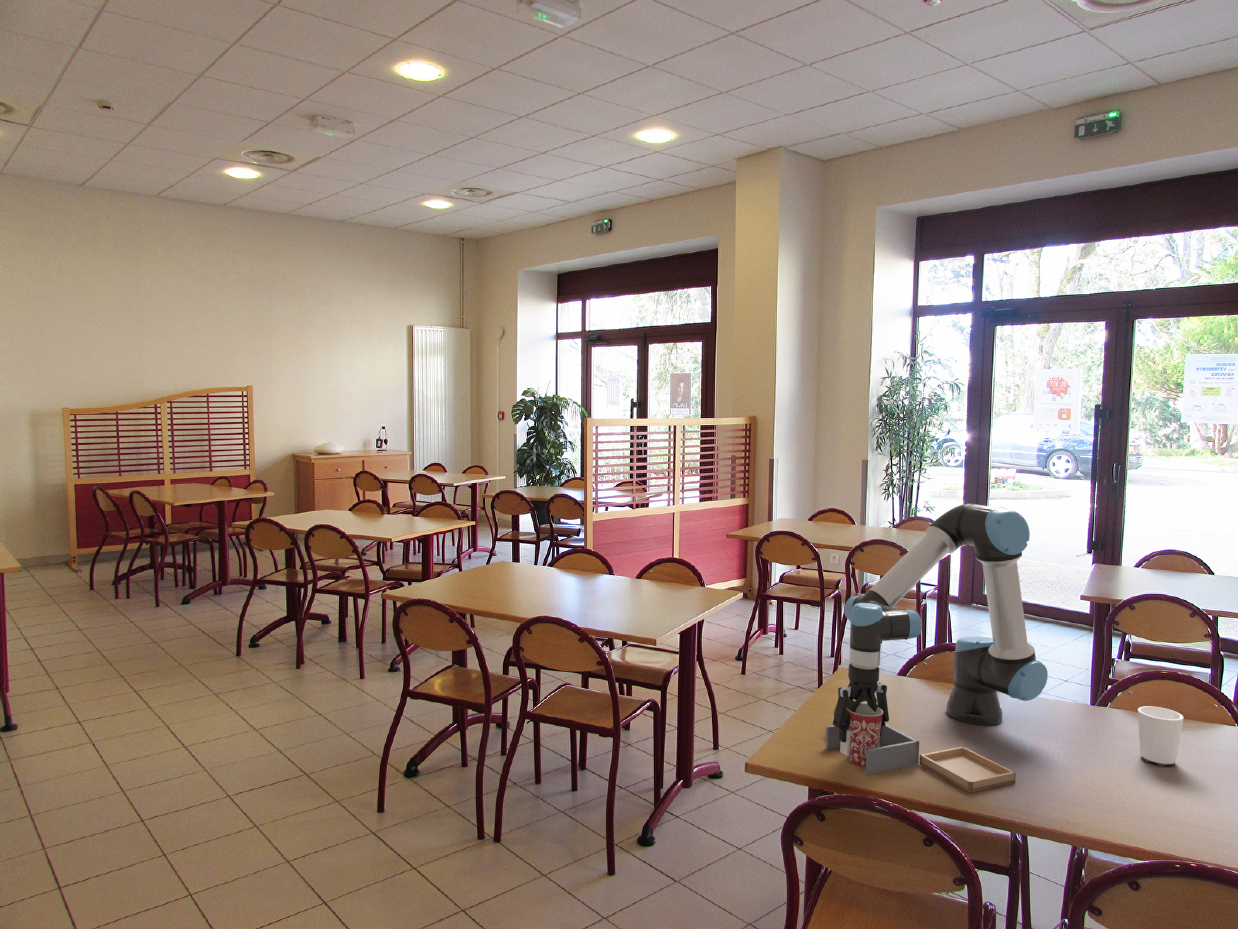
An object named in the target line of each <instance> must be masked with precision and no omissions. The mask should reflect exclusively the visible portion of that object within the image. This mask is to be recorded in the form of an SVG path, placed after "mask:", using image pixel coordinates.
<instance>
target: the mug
mask: <svg viewBox="0 0 1238 929" xmlns="http://www.w3.org/2000/svg"><path fill="white" fill-rule="evenodd" d="M847 711H848V713H849V714H850V726H849V728H848V729H849V730H850V732H851V734H850V754H849V756H846V758H847V760H848V762H850V763H851V764H852V765H853V764H854V765H857V766H860V767H866V750H867V749H873V748H878V746H879V747H880V745H879V738H880V730H881V722H882V715H883V710H882V709H881V708H879V707H877V709H876V712H874V711H873V710H872V709H871V708H870V707H869V705H868V704H867V703H864V702H861V703H860V706H858V707H857V709H856V711H855V713H854V712H852V711H850V710H849V709H848V708H847Z"/></svg>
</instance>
